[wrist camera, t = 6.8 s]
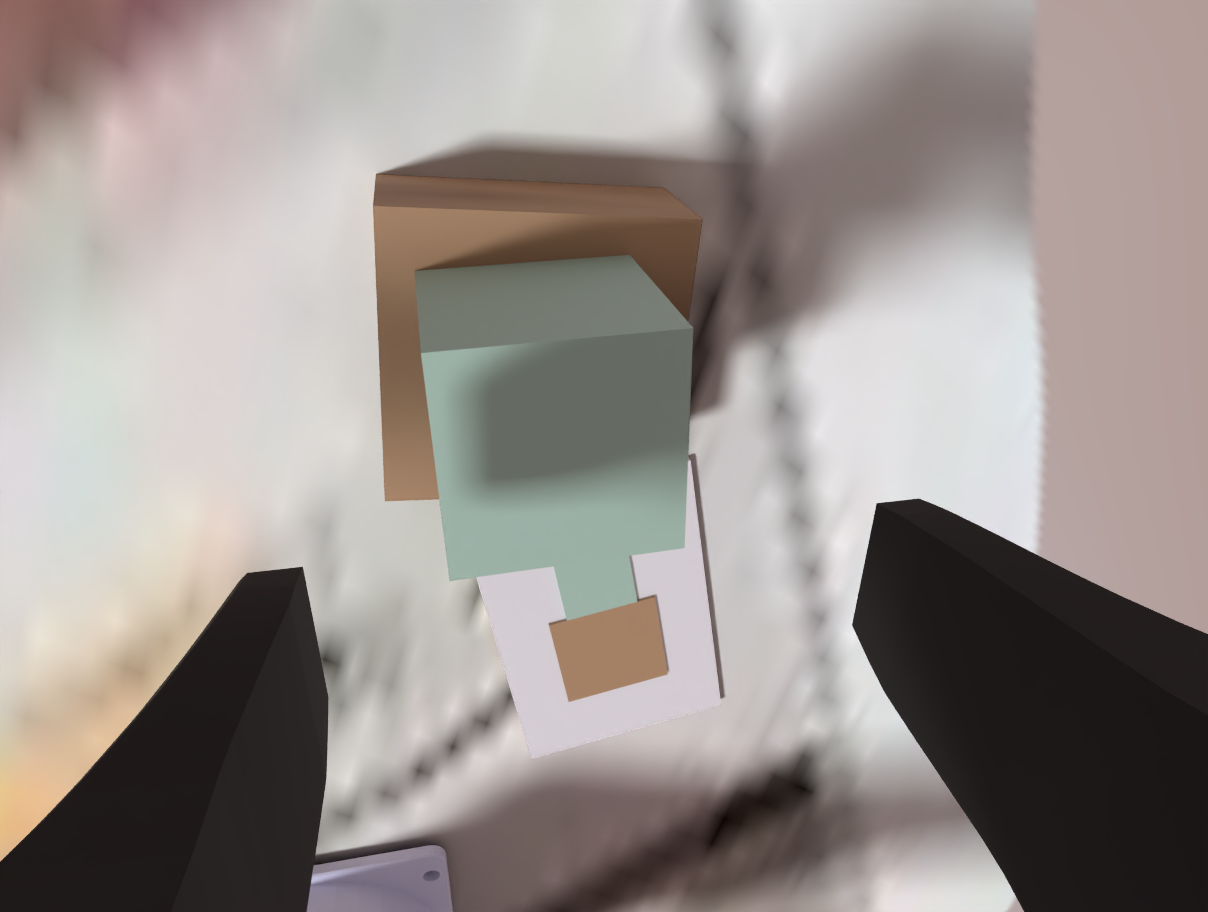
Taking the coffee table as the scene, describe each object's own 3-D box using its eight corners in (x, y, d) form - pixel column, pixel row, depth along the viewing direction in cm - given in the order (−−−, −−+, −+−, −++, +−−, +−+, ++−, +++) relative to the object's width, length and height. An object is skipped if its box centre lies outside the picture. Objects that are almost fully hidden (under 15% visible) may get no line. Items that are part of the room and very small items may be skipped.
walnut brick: (631, 429, 22) (663, 491, 19) (386, 433, 20) (385, 501, 18) (660, 184, 19) (702, 218, 16) (376, 171, 17) (373, 205, 15)
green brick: (629, 440, 18) (684, 547, 15) (438, 463, 17) (449, 581, 14) (629, 255, 16) (693, 327, 13) (414, 270, 15) (421, 352, 12)
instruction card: (719, 700, 27) (722, 707, 26) (530, 754, 26) (532, 761, 26) (688, 456, 22) (691, 462, 22) (457, 514, 21) (458, 521, 21)
